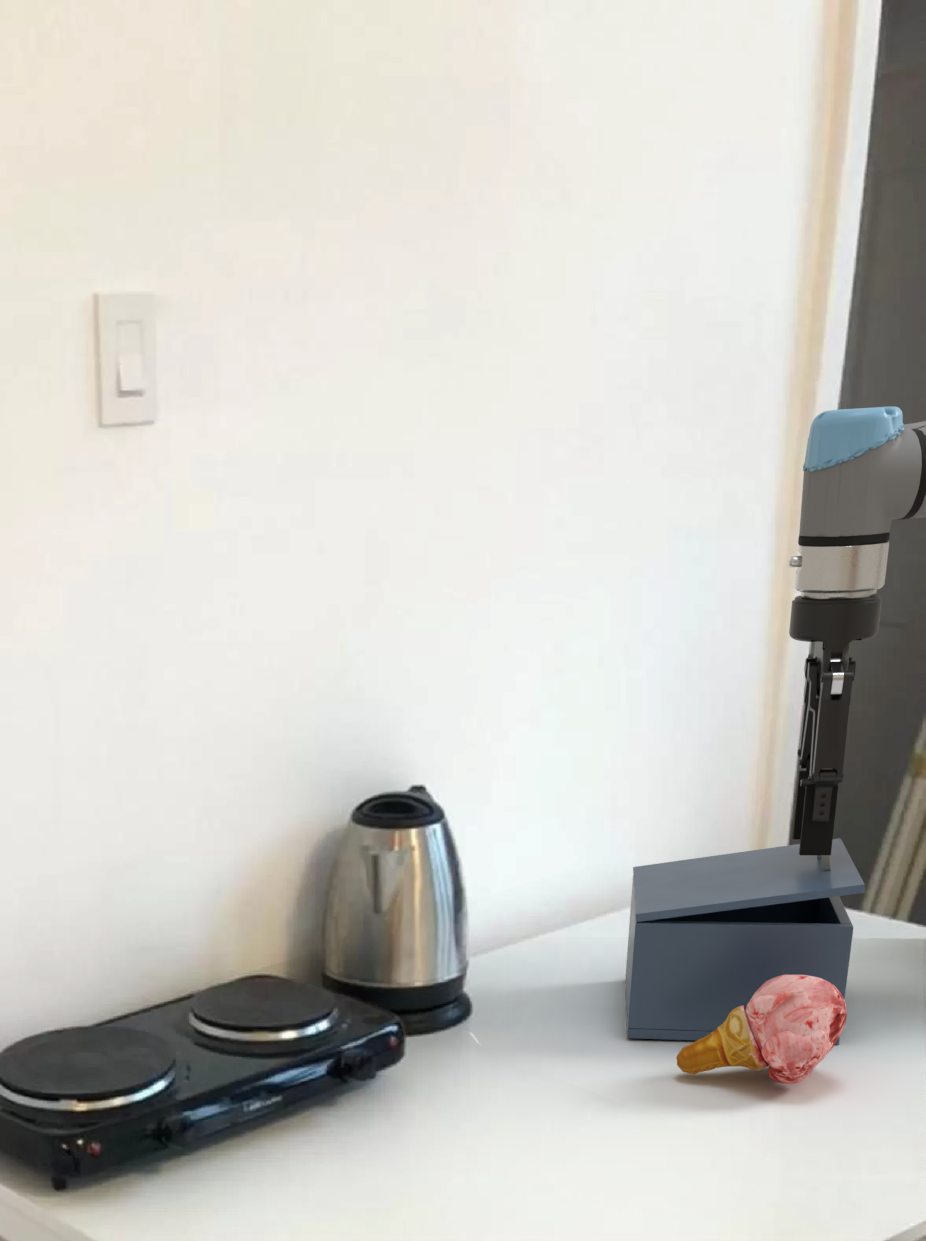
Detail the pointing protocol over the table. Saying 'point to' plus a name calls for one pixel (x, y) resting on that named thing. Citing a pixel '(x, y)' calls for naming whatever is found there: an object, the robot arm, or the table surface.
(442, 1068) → the table surface
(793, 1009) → the ice cream
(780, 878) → the freezer lid
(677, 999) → the box
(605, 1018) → the table surface
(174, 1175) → the table surface
